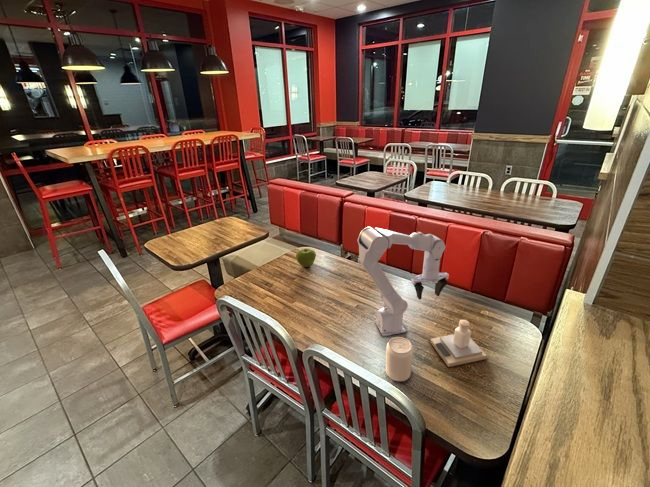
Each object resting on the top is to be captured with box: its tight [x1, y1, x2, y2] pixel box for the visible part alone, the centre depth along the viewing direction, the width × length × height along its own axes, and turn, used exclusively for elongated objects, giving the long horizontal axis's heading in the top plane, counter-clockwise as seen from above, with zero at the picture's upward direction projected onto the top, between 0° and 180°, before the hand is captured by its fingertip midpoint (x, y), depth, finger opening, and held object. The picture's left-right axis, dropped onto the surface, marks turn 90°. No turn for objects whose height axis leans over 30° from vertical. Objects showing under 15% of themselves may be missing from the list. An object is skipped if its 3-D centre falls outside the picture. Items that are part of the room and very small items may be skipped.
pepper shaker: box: [453, 319, 472, 349], centre depth 106 cm, size 4×4×10 cm
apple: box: [295, 247, 317, 268], centre depth 168 cm, size 11×10×10 cm
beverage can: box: [385, 336, 414, 382], centre depth 99 cm, size 8×8×12 cm
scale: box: [429, 333, 488, 368], centre depth 109 cm, size 14×12×3 cm
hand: (428, 296), depth 122 cm, fingers open, 7 cm apart
